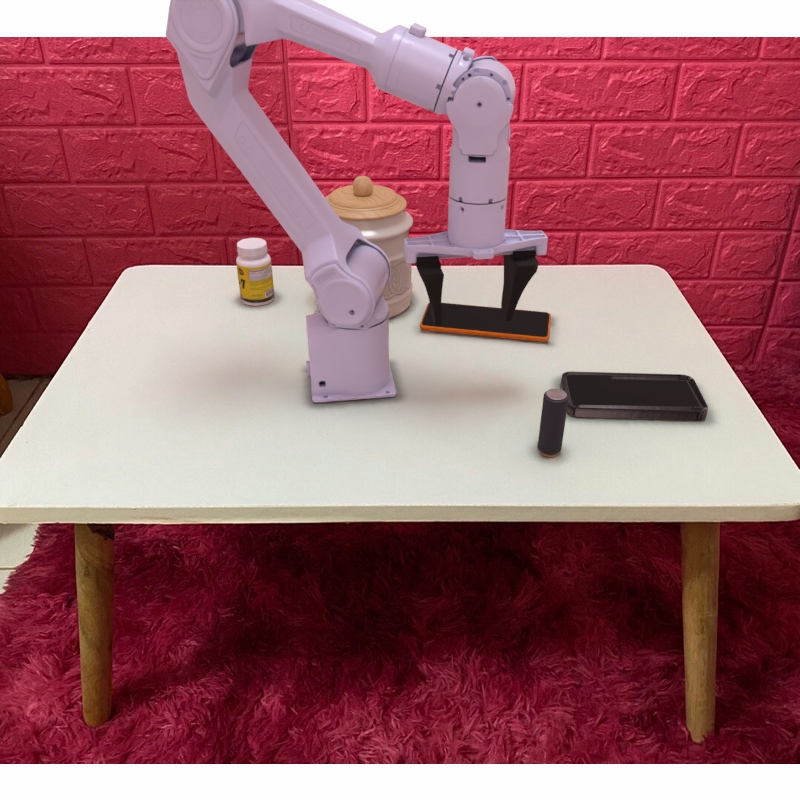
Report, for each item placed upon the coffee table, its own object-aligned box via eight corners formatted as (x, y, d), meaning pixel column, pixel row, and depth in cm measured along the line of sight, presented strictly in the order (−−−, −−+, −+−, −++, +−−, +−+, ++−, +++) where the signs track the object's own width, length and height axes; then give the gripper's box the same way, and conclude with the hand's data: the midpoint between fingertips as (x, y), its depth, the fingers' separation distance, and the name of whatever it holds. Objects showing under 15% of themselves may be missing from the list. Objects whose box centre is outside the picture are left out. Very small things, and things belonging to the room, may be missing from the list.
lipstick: (540, 459, 78) (548, 401, 74) (534, 445, 80) (540, 388, 76) (563, 457, 78) (572, 399, 74) (556, 443, 80) (564, 386, 76)
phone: (710, 412, 82) (569, 408, 83) (708, 421, 83) (568, 416, 84) (691, 374, 89) (560, 370, 90) (689, 382, 90) (559, 378, 90)
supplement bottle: (238, 294, 110) (231, 238, 105) (271, 290, 111) (266, 234, 106) (243, 308, 106) (236, 251, 101) (277, 304, 107) (272, 247, 103)
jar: (312, 288, 112) (303, 165, 102) (398, 278, 114) (398, 158, 105) (329, 328, 101) (321, 196, 91) (424, 316, 104) (426, 187, 94)
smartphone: (548, 343, 97) (549, 337, 97) (418, 331, 100) (418, 325, 100) (550, 316, 104) (551, 310, 103) (428, 305, 106) (428, 300, 106)
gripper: (410, 212, 71) (410, 342, 79) (562, 204, 73) (548, 331, 80) (400, 189, 77) (401, 311, 85) (540, 181, 79) (529, 302, 86)
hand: (471, 319), depth 83 cm, fingers open, 7 cm apart
